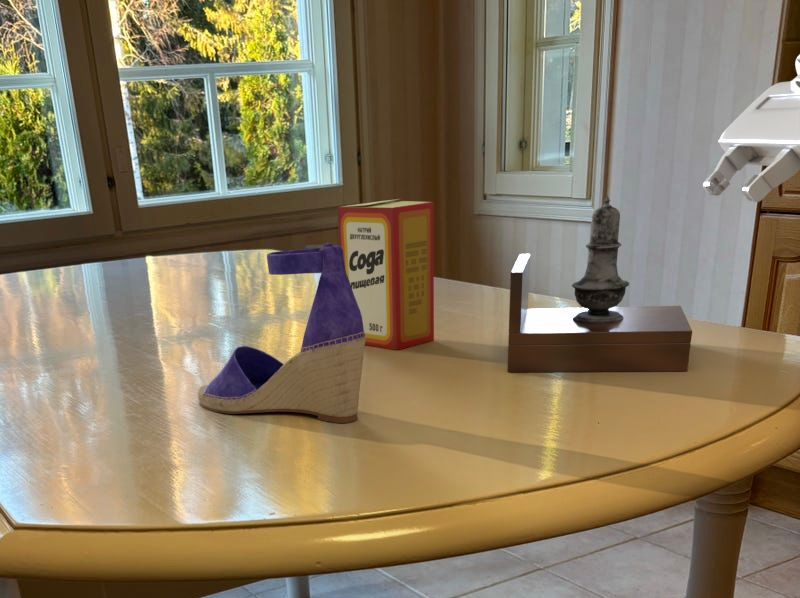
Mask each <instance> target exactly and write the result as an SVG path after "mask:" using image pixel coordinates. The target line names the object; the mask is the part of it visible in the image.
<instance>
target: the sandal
mask: <svg viewBox="0 0 800 598" xmlns="http://www.w3.org/2000/svg"><path fill="white" fill-rule="evenodd" d="M266 262H267V270H268V275H271V276H272V275H273V276H274V275H275V276H285V275H302V274H304V275H305V274H320V276H319V279H318V280H319V281H318V282H317V283H318V285H317V288H316V291H315V295H314V298H313V301H312V305H311V309H310V312H309V316H308V319H307V323H306V326H305V330H304V333H303V338H302V343H301V347H300V351H299V352H297V353H296V354H295V355H293V356H292V357H290V358H289V359H288V360H287V361H286V362H285V363H283V362H281V361H280V360H279V359H277V358H276V357H274V356H273V355H271V354H269V353H267V352H266V351H263V350H261V349H258V348H255V347H252V346H248V345H243V346H237V347H236V348H235V349H234V351H233V352H232V354H231V356H229V359H228V361H227V362H226V363H225V365H224V366H223V367H222V369H221V370H220V371H219V373H217V375H216V376H215V377H214V378H213V379H212V380H211V381H210V382H209V384H206V385H203V386H201V387H200V388H199V389H198V390H197V399H198V402H199V403H198V404H199V405H200V406H201V407H202V408H204V409H207V410H208V411H212V412H216V413H221V414H229V415H230V414H231V415H235V414H236V415H237V414H239V415H240V414H256V413H271V412H272V413H274V412H286V413H287V412H291V413H292V412H293V413H301V414H308V415H313V416H317V417H318V418H317V419H318V420H320V421H324V422H330V423H336V424H350V423H352V422H355V421H357V420H358V412H359V411H358V409H359V400H360V390H361V389H360V388H361V380H362V374H363V373H362V371H363V364H364V356H365V347H366V345H365V340H366V338H365V332H364V328H363V320H362V315H361V312H360V309H359V306H358V304H357V301H356V299H355V296H354V294H353V291H352V288H351V285H350V282H349V279H348V276H347V273H346V270H345V263H344V254H343V249H342V247H341V246H339V245H333V244H332V243H329V242H326V243H324V244H307V245H306V246H305V247H304V249H288V250H279V251H273V252H272V251H271V252H269V253H267V254H266Z"/></svg>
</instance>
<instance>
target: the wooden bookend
mask: <svg viewBox="0 0 800 598" xmlns="http://www.w3.org/2000/svg"><path fill="white" fill-rule="evenodd" d="M530 268H531V253H520V254H518V257H517V258H516V261H515V263H514V265H513V267H512V270H510V271H511V272H510V278H509V282H510V284H509V310H508V311H509V312H508V338H507V341H508V343H507V344H508V346H507V373H603V372H605V373H608V372H609V373H612V372H614V373H615V372H617V373H618V372H619V373H622V372H623V373H624V372H629V373H630V372H688V368H689V361H690V353H691V345H692V337H693V329H692V327H691V325H690V323H689V321H688V318H687V316H686V315H685V312H684V310H683V308H682V306H681V305H653V306H652V305H651V306H649V305H648V306H615V307H612V308H610V309H609V310H610V311H616V312H618V313H619V314H621V315H622V316H623V319H622V320H620V321H616V322H610V323H582V322H576V321H574V320H573V317H574V316H575V315H577V314H578V313H579V312H583V311H588V310H589V309H587V308H584V307H567V308H566V307H565V308H563V307H560V308H529V292H530V273H531V272H530Z"/></svg>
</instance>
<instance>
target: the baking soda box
mask: <svg viewBox="0 0 800 598" xmlns="http://www.w3.org/2000/svg"><path fill="white" fill-rule="evenodd" d="M398 200H399V198H397V199H395V201H394V199H389V200H388V199H387V200H379V201H372V202H365V203H357V204H349V205H342V206H337V207H336V208H337V209H336V210H337V227H338V244H339V245H338V246H341V247H342V249H343V254H344V263H345V270H346V273H347V276H348V279H349V282H350V285H351V288H352V291H353V294H354V296H355V299H356V301H357V304H358V306H359V309H360V312H361V315H362V320H363V328H364V332H365V338H366V340H365V346H367V347H369V346H370V347H375V348H382V349H387V350H394V351H399V350H403V349H406V348H411V347H414V346H418V345H422V344H426V343H429V342H430V343H431V342H434V341H435V289H434V288H435V285H434V284H435V283H434V281H435V278H434V276H435V275H434V274H435V272H434V270H435V268H434V267H435V263H434V257H435V256H434V255H435V254H434V248H435V247H434V244H435V243H434V242H435V241H434V201H412V200H411V201H409V200H400V201H398Z"/></svg>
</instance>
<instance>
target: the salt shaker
mask: <svg viewBox="0 0 800 598" xmlns="http://www.w3.org/2000/svg"><path fill="white" fill-rule="evenodd" d="M603 202H604V204H603V205H601V206H600V207H598V208H597V209H595V210H594V211H593V213H592V214H591V220H590V233H589V234H590V235H589V243H587V244H586V245H585V248H586V249H587V250H588V251H587V265H586V269H585V273H584V275H583V277H582V278H581V279H579V280H578V281H574V282H572V283H571V287H572V288H573V289H574V297H575V300H576V302H577V304H579V306H580V308H587V309H589V310H588V311H583V312H579V313H578V314H577V315H575V316H574V317H573V320H574V321H576V322H582V323H610V322H616V321H620V320H622V319H623V316H622V315H621V314H619V313H618V312H616V311H610V310H609V309H610V308H612V307H618V305H620V303H621V302H622V301H623V299H624V297H625V294H626V289H627V287H629V286H630V282H629V281H628V280H624V279H622V277H621V276H620V275H619V271H618V254H619V248H620V247H622V243H621V242H619V234H620V233H619V231H620V221H621V212H620V210H619V209H617V208H616V207H614V206H612V204H610V202H611V199H610V197H609V196H606V197H605V198H604V200H603Z"/></svg>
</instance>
